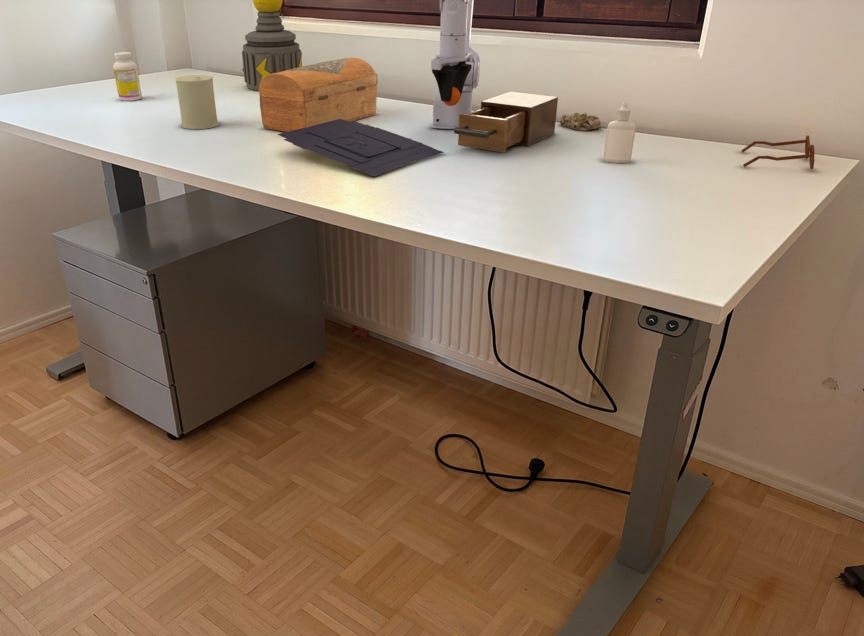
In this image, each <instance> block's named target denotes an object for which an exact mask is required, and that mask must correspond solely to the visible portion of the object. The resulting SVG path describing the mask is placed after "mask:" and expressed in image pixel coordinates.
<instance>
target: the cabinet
mask: <svg viewBox="0 0 864 636" xmlns="http://www.w3.org/2000/svg"><path fill="white" fill-rule="evenodd" d="M558 102H559V96H552V95H545V94H544V95H543V94H534V93H526V92H517V91H508V92H504V93H502V94H499V95H497V96H493V97H490V98H488V99H484V100H482V101H481V102H480V109H482V108H485V107H488V106H494V107H502V108H510V109H518V110H526V111H528V112H527V124H526V136H525V140H523V141H520V142H518V143H516V144H514V145H516V146H520V147H521V146H522V147H530V146H532V145H534V144H536V143H538V142H540V141H543V140H545V139H547V138H549V137H551V136H554V135H555V132H556V121H557V113H558Z"/></svg>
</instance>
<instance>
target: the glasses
mask: <svg viewBox="0 0 864 636" xmlns="http://www.w3.org/2000/svg"><path fill="white" fill-rule="evenodd" d="M798 144H804V154H797V155H788V156H787V155H786V156H771V155H757V156H755V157H754V158H752V159H750V160H748V161H747V162H744V163H743V164H742V166H743V167H744V168H746V167H748V166H750V165H751V164H753V163H755V162H756V161H758V160H760V159H761V160H771V161H776V162H778V161H789V160H799V159H809V161H808V162H809V169H810V170H813V169H814V166H815V145H814V144H811V139H810V135H805V139H797V140H789V141H780V142H779V141H778V142H769V141H765V140H759V141H758V140H756V141H752V142H751V143H750V144H748V145H746V146H745V147H744V148H743V149H741V150H740V151H741V153H745V152H746V151H748V150H750V148H752V147H754V146H755V145H765V146H766V145H767V146H770V147H779V146H787V145H788V146H789V145H798Z"/></svg>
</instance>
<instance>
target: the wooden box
mask: <svg viewBox="0 0 864 636" xmlns="http://www.w3.org/2000/svg"><path fill="white" fill-rule="evenodd" d="M377 87H378V74H377V73H376V71H375V69H373V67H372V65H371V64H369V62H367V61H365V60H363V59H362V58H359V57H358V58H357V57H344V58H338V59H333V60H328V61H327V60H326V61H321V62H316V63H313V64H307V65H304V66H303V65H302V67H298V68H294V69H291V70H286V71H282V72H277V73H273V74H270V75H268V76H266V77H265V78H264V79H263V80H262V81H261V83H260V84H259V91H258V96H259V109H260V116H261V121H262V127H263V129H268V130H274V131H280V132H284V133H285V132H289V131H293V130H297V129H302V128H306V127H310V126H314V125H318V124H322V123H325V122H329V121H333V120H337V119H343V120H346V121H348V122H353V121H355V122H357V121H359V120H363V119H365V118H368V117H373V116H376V114H377V95H378V93H377V91H378V88H377Z"/></svg>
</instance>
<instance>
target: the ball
mask: <svg viewBox="0 0 864 636" xmlns="http://www.w3.org/2000/svg"><path fill="white" fill-rule="evenodd" d="M459 100H460V92H459V90H458V89H457V88H455V87H453V88H452V96H451V100H450V101H449V102H447V101H443V102H444V103H445V104H446V105H448V106H454V105H456V104H457V103H458V102H459Z"/></svg>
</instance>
